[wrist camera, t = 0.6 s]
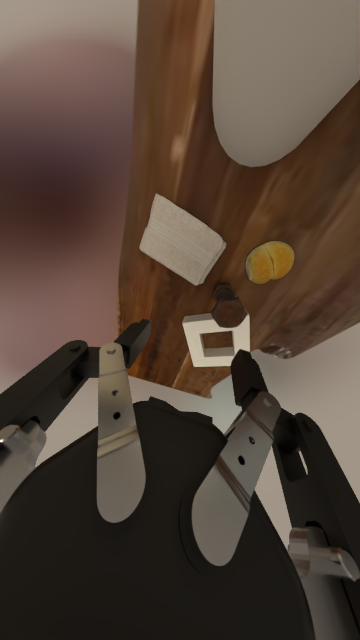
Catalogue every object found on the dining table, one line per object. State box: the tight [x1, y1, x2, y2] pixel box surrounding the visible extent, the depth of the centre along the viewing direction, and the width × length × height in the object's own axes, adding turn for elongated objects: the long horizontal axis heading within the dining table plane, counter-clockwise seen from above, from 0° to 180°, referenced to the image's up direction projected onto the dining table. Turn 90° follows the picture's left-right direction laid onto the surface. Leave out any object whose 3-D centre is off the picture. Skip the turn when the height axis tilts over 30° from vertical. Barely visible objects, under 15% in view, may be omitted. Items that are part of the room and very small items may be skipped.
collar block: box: [183, 308, 250, 367], centre depth 41 cm, size 17×17×4 cm
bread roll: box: [246, 241, 294, 284], centre depth 29 cm, size 8×9×4 cm
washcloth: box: [140, 193, 226, 286], centre depth 31 cm, size 12×18×3 cm, turn 62°
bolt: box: [211, 283, 248, 328], centre depth 29 cm, size 6×5×15 cm
